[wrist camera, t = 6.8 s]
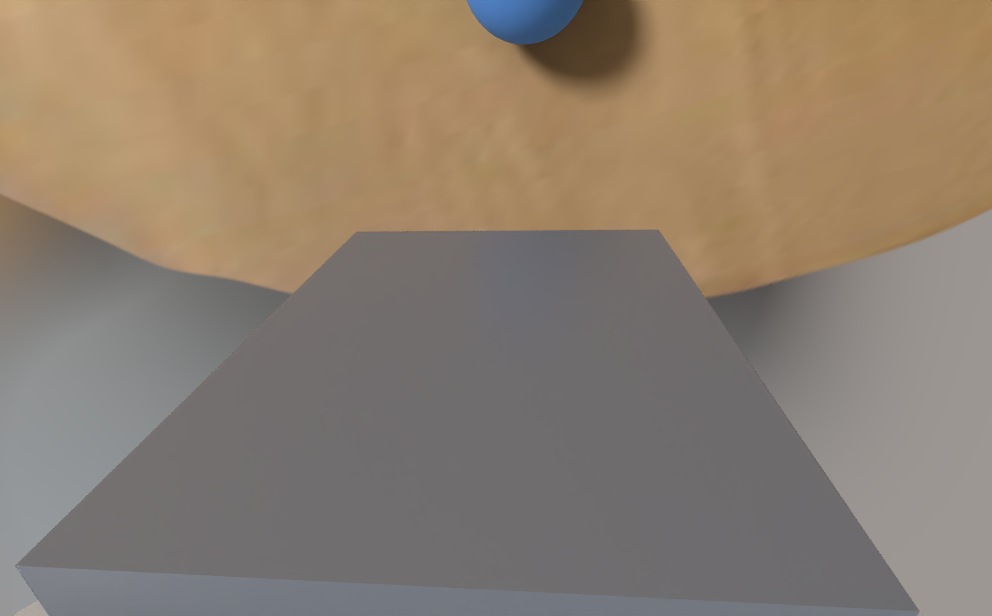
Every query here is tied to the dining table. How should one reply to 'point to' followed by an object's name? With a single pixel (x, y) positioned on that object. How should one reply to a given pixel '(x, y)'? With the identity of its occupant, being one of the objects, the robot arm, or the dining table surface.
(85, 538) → the balanced grey cube
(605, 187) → the dining table surface
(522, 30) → the ball
